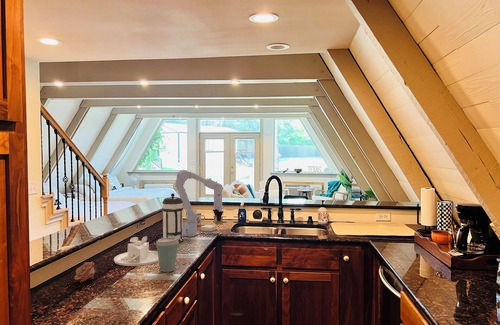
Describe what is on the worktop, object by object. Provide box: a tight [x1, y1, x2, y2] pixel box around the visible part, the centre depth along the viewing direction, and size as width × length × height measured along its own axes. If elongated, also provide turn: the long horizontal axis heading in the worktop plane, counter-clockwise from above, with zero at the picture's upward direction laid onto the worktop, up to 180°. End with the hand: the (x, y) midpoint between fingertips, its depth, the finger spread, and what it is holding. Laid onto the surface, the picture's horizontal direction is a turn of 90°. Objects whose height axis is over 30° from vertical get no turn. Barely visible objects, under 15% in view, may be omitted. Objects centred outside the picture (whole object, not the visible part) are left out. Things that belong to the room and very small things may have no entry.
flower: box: [73, 261, 97, 283], centre depth 163 cm, size 10×9×8 cm
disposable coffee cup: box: [155, 237, 180, 273], centre depth 177 cm, size 11×11×15 cm
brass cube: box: [213, 215, 224, 225], centre depth 257 cm, size 5×5×5 cm
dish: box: [113, 235, 159, 267], centre depth 196 cm, size 25×25×11 cm
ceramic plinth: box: [200, 224, 217, 232], centre depth 266 cm, size 8×8×3 cm
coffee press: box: [161, 193, 184, 243], centre depth 232 cm, size 17×16×30 cm
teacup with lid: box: [193, 209, 206, 227], centre depth 285 cm, size 12×9×12 cm
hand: (217, 220), depth 257 cm, fingers closed on brass cube, 5 cm apart
